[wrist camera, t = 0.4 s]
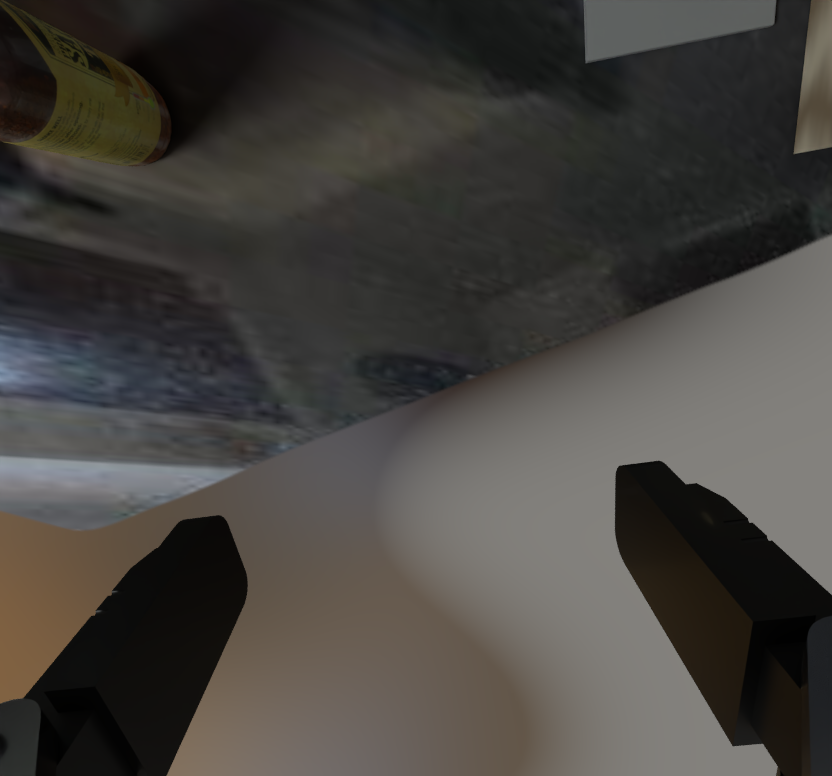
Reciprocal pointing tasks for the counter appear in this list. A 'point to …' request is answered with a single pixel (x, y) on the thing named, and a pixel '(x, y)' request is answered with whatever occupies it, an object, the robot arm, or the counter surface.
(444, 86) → the counter surface
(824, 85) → the hole block
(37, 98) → the sauce bottle
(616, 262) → the counter surface
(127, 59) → the counter surface
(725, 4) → the mat
